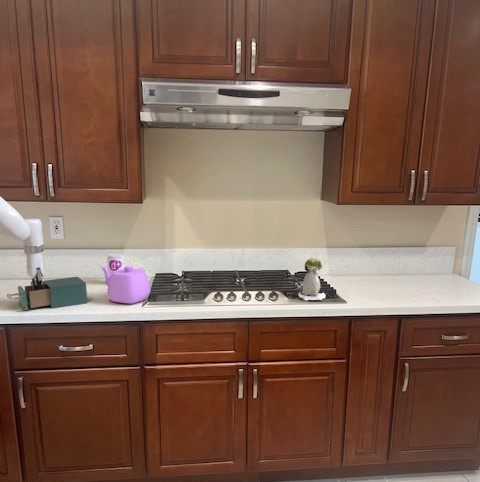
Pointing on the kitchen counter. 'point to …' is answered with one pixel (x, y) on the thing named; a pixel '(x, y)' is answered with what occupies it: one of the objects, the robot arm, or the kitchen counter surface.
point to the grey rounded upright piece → (312, 281)
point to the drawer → (32, 297)
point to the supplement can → (115, 262)
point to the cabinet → (67, 292)
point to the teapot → (127, 285)
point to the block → (34, 286)
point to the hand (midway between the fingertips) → (38, 292)
